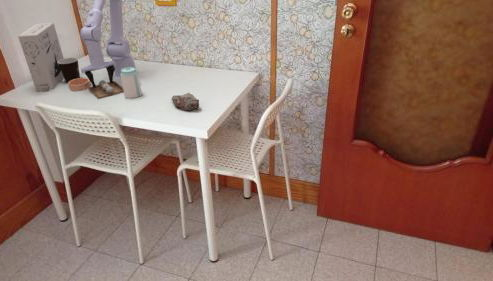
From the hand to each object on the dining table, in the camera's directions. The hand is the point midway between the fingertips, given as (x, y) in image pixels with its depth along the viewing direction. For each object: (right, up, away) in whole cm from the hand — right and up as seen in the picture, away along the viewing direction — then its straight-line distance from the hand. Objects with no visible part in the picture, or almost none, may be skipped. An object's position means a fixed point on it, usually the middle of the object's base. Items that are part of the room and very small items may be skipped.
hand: (102, 84), depth 170 cm
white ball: (+3, -3, -3) cm, 5 cm away
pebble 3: (+5, -5, -6) cm, 9 cm away
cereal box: (-27, +2, +10) cm, 29 cm away
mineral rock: (+40, -11, -17) cm, 45 cm away
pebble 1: (0, -1, +1) cm, 1 cm away
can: (+16, -6, -7) cm, 19 cm away
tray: (+3, -3, -2) cm, 5 cm away
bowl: (-11, -1, +2) cm, 11 cm away
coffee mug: (-17, +4, +12) cm, 21 cm away
